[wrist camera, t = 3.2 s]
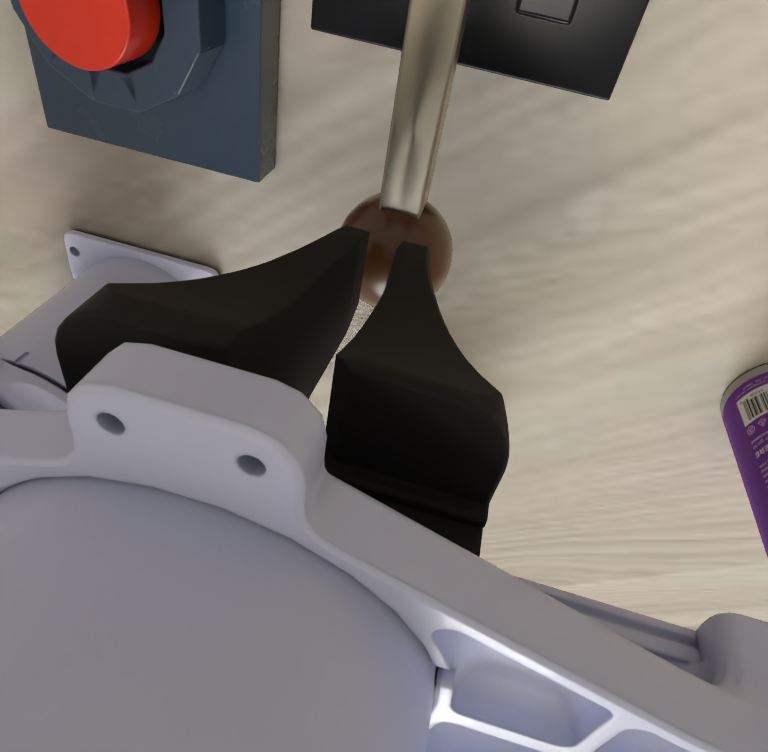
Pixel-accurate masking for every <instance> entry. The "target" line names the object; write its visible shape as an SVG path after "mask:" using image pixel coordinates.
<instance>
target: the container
mask: <svg viewBox="0 0 768 752" xmlns="http://www.w3.org/2000/svg"><path fill="white" fill-rule="evenodd" d="M721 414H722V418H723V421H724V425H725V428H726V431H727V434H728V437H729V440H730V443H731V446H732V449H733V452H734V455H735V458H736V461H737V464H738V468H739V471H740V474H741V477H742V480H743V483H744V486H745V489H746V492H747V495H748V498H749V501H750V504H751V507H752V511H753V514H754V517H755V520H756V523H757V526H758V529H759V532H760V535H761V538H762V541H763V544H764V547H765V550H766V554H767V557H768V364H765V365H762V366H759V367H757V368H754V369H752V370H750V371H748V372H746V373H745V374H743V375H742V376H740V377H739V378H738V379H736V380H735V381H734V382H733V383H732V384H731V385H730V386H729V387H728V389H727V390H726V392H725V393H724V395H723V398H722V400H721Z"/></svg>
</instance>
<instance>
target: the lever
mask: <svg viewBox="0 0 768 752" xmlns="http://www.w3.org/2000/svg"><path fill="white" fill-rule="evenodd" d="M470 1H471V0H410V1H409V8H408V15H407V21H406V28H405V35H404V41H403V48H402V55H401V62H400V68H399V75H398V82H397V88H396V95H395V102H394V108H393V115H392V122H391V128H390V135H389V142H388V148H387V155H386V162H385V168H384V175H383V182H382V188H381V193H379V194H376V195H373V196H371V197H369V198H367V199H365V200H364V201H362V202H361V203H360V204H358V205H357V206H356V207H355V208H354V209H353V210H352V211H351V212H350V214H349V215H348V216H347V218H346V219H345V221H344V223H343V225H342V227H343V226H350V227H354V228H358V229H362V230H365V231H369V232H370V235H369V241H368V248H367V254H366V260H365V266H364V273H363V279H362V285H361V292H360V299H361V300H363V301H364V302H366V303H368V304H370V305H372V306H375V307H376V305H377V303H378V301H379V300H380V298H381V296H382V294H383V292H384V289H385V286H386V283H387V279H388V276H389V273H390V269H391V266H392V262H393V259H394V256H395V252H396V250H397V248H398V247H399V245H400V244H401V243H402V242H403V241H407V242H411V243H414V244H418V245H422V246H426V247H428V248H429V250H430V251H431V256H430V273H431V280H432V284H433V289H434V293H435V292H437V290H438V289H439V288H440V287H441V285H442V284H443V282H444V281H445V279H446V277H447V275H448V272H449V269H450V266H451V261H452V251H453V249H452V239H451V235H450V232H449V229H448V226H447V224H446V222H445V220H444V219H443V217H442V216H441V214H440V213H439V212H438V211H437V210H436V209H435V208H434V207H433V206H432V205H431V204H430V203H429V202H427V199H428V194H429V190H430V185H431V180H432V176H433V171H434V167H435V162H436V157H437V153H438V148H439V144H440V139H441V134H442V130H443V125H444V120H445V116H446V111H447V107H448V102H449V97H450V93H451V88H452V84H453V79H454V74H455V70H456V65H457V61H458V56H459V51H460V47H461V42H462V37H463V33H464V28H465V24H466V19H467V14H468V10H469V5H470Z"/></svg>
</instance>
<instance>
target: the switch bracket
mask: <svg viewBox="0 0 768 752" xmlns="http://www.w3.org/2000/svg"><path fill="white" fill-rule="evenodd" d="M409 1H410V0H313V4H312V19H311V28H312V29H313V30H317V31H321V32H325V33H330V34H334V35H338V36H342V37H346V38H350V39H354V40H359V41H363V42H367V43H371V44H375V45H379V46H384V47H388V48H392V49H396V50H400V51H402V48H403V41H404V35H405V28H406V21H407V15H408V8H409ZM648 2H649V0H471V1H470V5H469V10H468V14H467V19H466V24H465V28H464V33H463V37H462V42H461V47H460V51H459V56H458V61H457V64H458V65H462V66H467V67H471V68H475V69H479V70H483V71H487V72H491V73H496V74H500V75H504V76H508V77H512V78H516V79H521V80H525V81H529V82H533V83H537V84H541V85H545V86H550V87H554V88H558V89H562V90H566V91H570V92H575V93H579V94H583V95H587V96H591V97H595V98H599V99H604V100H609V99H610V97H611V94H612V92H613V89H614V87H615V84H616V82H617V79H618V77H619V74H620V72H621V69H622V67H623V64H624V62H625V60H626V57H627V55H628V52H629V50H630V47H631V45H632V42H633V40H634V37H635V35H636V32H637V30H638V27H639V25H640V22H641V20H642V17H643V15H644V12H645V10H646V7H647V5H648Z"/></svg>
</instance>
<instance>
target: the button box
mask: <svg viewBox="0 0 768 752" xmlns="http://www.w3.org/2000/svg"><path fill="white" fill-rule="evenodd" d="M11 3H12V5H13V9H14V10H15V12H16V13H17V15H18V17H19V18H20V20H21V22H22V23H23V25H24V26H25V30H26V34H27V38H28V43H29V47H30V51H31V56H32V60H33V65H34V69H35V73H36V78H37V82H38V86H39V91H40V95H41V100H42V104H43V108H44V113H45V117H46V121H47V126H48V127H49V128H52V129H56V130H60V131H64V132H68V133H71V134H75V135H79V136H83V137H87V138H91V139H94V140H98V141H102V142H106V143H110V144H113V145H117V146H121V147H125V148H129V149H132V150H136V151H140V152H144V153H148V154H152V155H155V156H159V157H163V158H167V159H171V160H174V161H178V162H182V163H186V164H190V165H193V166H197V167H201V168H205V169H209V170H213V171H216V172H220V173H224V174H228V175H232V176H235V177H239V178H243V179H247V180H251V181H254V182H260V181H261V180H262V179H263V178H264V177H265V176H266V175H268V174H269V173H270V172H271V171H272V170H273V169H274V168H275V142H276V111H277V81H278V50H279V19H280V0H159V3H160V16H161V17H160V27H159V32H158V35H157V38H156V40H155V42H154V44H153V46H152V47H151V48H150V50H149V51H148V52H147V53H146V54H144V55H143V56H141V57H139V58H137V59H134V60H131V61H128V62H126V63H123V64H120V65H117V66H114V67H112V68H109V69H106V70H102V71H89V70H84V69H81V68H78V67H75V66H73V65H71V64H69V63H67V62H66V61H64V60H62V59H61V58H60V57H58V56H57V55H56V54H55V53H54V52H52V51H51V50H50V49H49V48H48V47H47V46H46V45H45V44H44V42H43V41H42V40H41V39H40V38H39V36H38V35H37V34H36V32H35V31H34V29H33V28H32V26H31V25H30V23H29V21H28V20H27V18H26V16H25V14H24V12H23V9H22V7H21V5H20V2H19V0H11Z"/></svg>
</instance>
